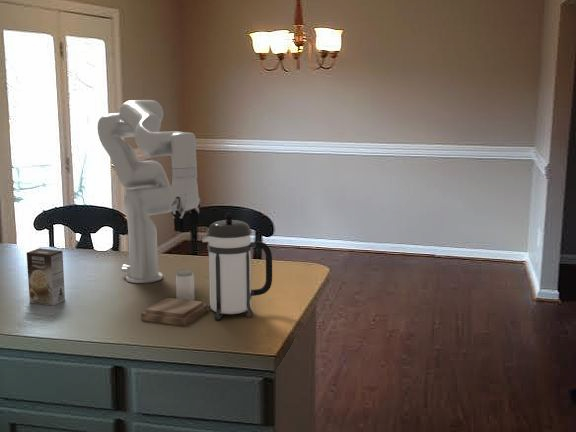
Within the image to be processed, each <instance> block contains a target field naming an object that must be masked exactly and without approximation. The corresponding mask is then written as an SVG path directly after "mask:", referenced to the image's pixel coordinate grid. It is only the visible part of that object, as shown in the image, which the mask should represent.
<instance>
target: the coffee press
mask: <svg viewBox="0 0 576 432" xmlns="http://www.w3.org/2000/svg"><path fill="white" fill-rule="evenodd" d="M233 217H234V215H233V214H232V213H231V212H226V213H225V215H224V218H225V219H223V220H217V221H215V222H213V223H211V224H210V225H209V227H208V229H207V230H206V234H205V235H204V237H203V239H202V243H207V251H208V276H209V279H208V280H209V305H208V311H213V312H215V315H214V320H215V321H221V320H222V318H223V316H224V315H237V314H241V313H243V314H245V316H246V317H247V318H252V317H253V316H254V312H253V309H252V308H251V306H252V297H255V296H261V295H263V294H266V293H267V292H268V291H270V288H271V287H272V284H273V256H272V255H273V254H272V251H271V249H270V247H269V246H268V244H266V243H264V242H262V241H259V240H258V241H251V235H252V229H251V228H250V226H249V224H248V223H246V222H245V221H241V220H238V219H237V220H236V219H235V220H234V218H233ZM252 248H258V249H262V250H263V252H264V255H265V283H264V285H263V286H262V287H260V288H257V289H256V288H255V289H252V271H251V270H252V268H251V266H252V265H251V264H252V263H251V261H252V258H251V256H252V255H251V251H252Z"/></svg>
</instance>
